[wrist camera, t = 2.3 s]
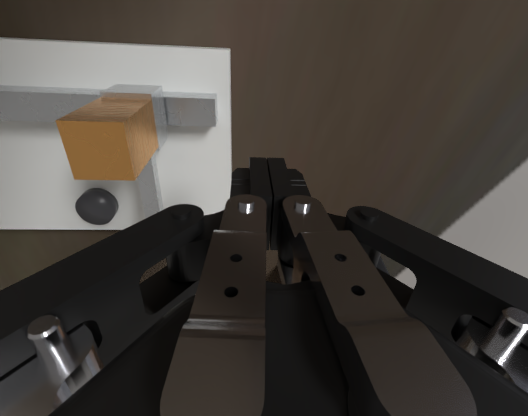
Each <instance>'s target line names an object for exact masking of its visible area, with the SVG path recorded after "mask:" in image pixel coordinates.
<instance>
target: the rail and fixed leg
mask: <svg viewBox="0 0 528 416" xmlns="http://www.w3.org/2000/svg"><path fill="white" fill-rule="evenodd" d="M103 90H105V89H90V88H63V87H36V86H10V85H0V120H3V121H37V122H56V121H55V120H57V119H59V118H61V117H63V116H65V115H67V114H69V113H71V112H73V111H75V110H77V109H79V108H81V107H83V106H85V105H87V104H88V103H90V102H92V101H94V100H96V99H98V98H100V93H99V92H100V91H103ZM163 97H164V105H165V113H166V121H167V125H172V126H206V127H216V125H217V121H218V105H217V93H196V92H169V91H163Z"/></svg>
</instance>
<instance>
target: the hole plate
mask: <svg viewBox="0 0 528 416" xmlns="http://www.w3.org/2000/svg"><path fill="white" fill-rule="evenodd" d="M115 84H131V85H157V86H162V89H163V91H169V92H196V93H217V105H218V121H217V125H216V127H206V126H172V125H167V129H168V139H167V140H166V142H165V143H164V145H163V146H162V148H161V149H160V151H155V157H156V164H157V170H158V176H159V183H160V189H161V196H162V202H163V209H166V208H168V207H170V206H173V205H178V204H191V205H195V206H198V207H200V208H201V209H202V210H203V212H204V215H209V214H214V213H217V212H220V211H222V210H224V209H225V205H226V202H227V200H228V199H230V190H231V178H232V140H231V53H230V48H213V47H192V46H171V45H150V44H130V43H109V42H88V41H68V40H47V39H26V38H6V37H0V85H10V86H36V87H63V88H90V89H107V88H109V87H111V86H113V85H115ZM144 219H146V218H145V213H144V208H143V203H142V198H141V193H140V188H139V182H138V177H137V178H136V180H135V181H126V180H74V177H73V174H72V171H71V168H70V164H69V161H68V158H67V155H66V152H65V149H64V146H63V143H62V140H61V136H60V133H59V130H58V127H57V124H56V122H37V121H3V120H0V229H52V230H123V229H125V228H127V227H130V226H132V225H134V224H136V223H138V222H140V221H142V220H144Z"/></svg>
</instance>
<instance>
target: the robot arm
mask: <svg viewBox="0 0 528 416" xmlns="http://www.w3.org/2000/svg"><path fill="white" fill-rule="evenodd" d="M269 241H270V250H278V260H277V267H278V271H279V275H280V279H281V283H282V284H279V283H273V282H268V281H266V250H269ZM381 253H382V254H384V255H386V256H387V257H389V258H391V259H393V260H395V261H396V262H398V263H400V264H402V265H404V266H405V267H407V268H409V269H410V270H411V271H412V272H413V273H414V274H415V276H416V280H417V283H416V286H415V288H414V289H412V288H410V287H408V286H407V285H405V284H403V283H401V282H400V281H398V280H397V279H395V278H393V277H392V276H390V275H388V274H387V273H385V272H383V271H382V270H380V269H378V268H377V264H378V261H379V257H380V254H381ZM164 258H166V261H167V266H166V267H164V268H163V269H161V270H160V271H158V272H157V273H155V274H154V275H152V276H151V277H149V278H148V279H146V280H145V281H143V282H142V283H141V284H139V282H140V278H141V276H142V275H143V273H144V272H145V271H146V270H147V269H149V268H150V267H152V266H153V265H155V264H156V263H158V262H160V261H161V260H163V259H164ZM195 294H196V295H195ZM0 416H528V279H527V278H525V277H523V276H521V275H519V274H517V273H514V272H512V271H510V270H508V269H506V268H504V267H501V266H499V265H497V264H495V263H493V262H491V261H488V260H486V259H484V258H482V257H480V256H477V255H475V254H473V253H471V252H469V251H467V250H465V249H462V248H460V247H458V246H456V245H454V244H452V243H449V242H447V241H445V240H443V239H441V238H439V237H436V236H434V235H432V234H430V233H428V232H426V231H423V230H421V229H419V228H417V227H415V226H413V225H410V224H408V223H406V222H404V221H402V220H400V219H397V218H395V217H393V216H391V215H389V214H387V213H384V212H382V211H380V210H378V209H375V208H372V207H366V206H356V207H352V208H350V209H349V210H348V211H347V215H346V217H343V216H338V215H333V214H329V213H327V212H326V210H325V209H324V207H323V205H322V204H321V202H320V201H318V200H317V199H315V198H312V197H311V195H310V193H309V190H308V188H307V186H306V183H305V181H304V178H303V175H302V174H301V173H300V172H299V171H297V170H296V169H287V167H286V164H285V160H284V158H267V161H266V158H256V157H249V168H237V169H236V170H235V171H234V172H232V178H231V190H230V199H228V200H227V202H226V205H225V209H224V210H222V211H220V212H217V213H214V214H209V215H204V212H203V210H202V209H201V208H200V207H198V206H195V205H191V204H178V205H173V206H170V207H168V208H166V209H164V210H162V211H160V212H158V213H156V214H154V215H152V216H150V217H148V218H146V219H144V220H142V221H140V222H138V223H136V224H134V225H132V226H130V227H127V228H125V229H123V230H121V231H119V232H117V233H115V234H113V235H111V236H109V237H107V238H105V239H103V240H101V241H99V242H97V243H95V244H93V245H91V246H89V247H87V248H85V249H83V250H81V251H79V252H77V253H75V254H73V255H71V256H69V257H67V258H65V259H63V260H61V261H59V262H57V263H55V264H53V265H51V266H49V267H47V268H45V269H43V270H41V271H39V272H37V273H35V274H33V275H31V276H29V277H27V278H25V279H23V280H21V281H19V282H17V283H15V284H13V285H11V286H9V287H7V288H5V289H3V290H1V291H0Z"/></svg>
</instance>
